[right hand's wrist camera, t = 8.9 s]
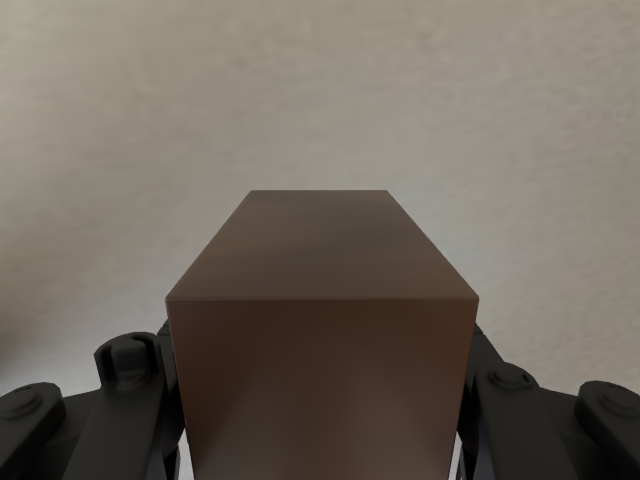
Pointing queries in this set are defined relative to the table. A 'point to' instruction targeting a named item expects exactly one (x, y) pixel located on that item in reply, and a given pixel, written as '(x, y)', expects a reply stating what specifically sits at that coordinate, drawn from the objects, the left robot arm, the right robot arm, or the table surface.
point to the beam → (321, 342)
